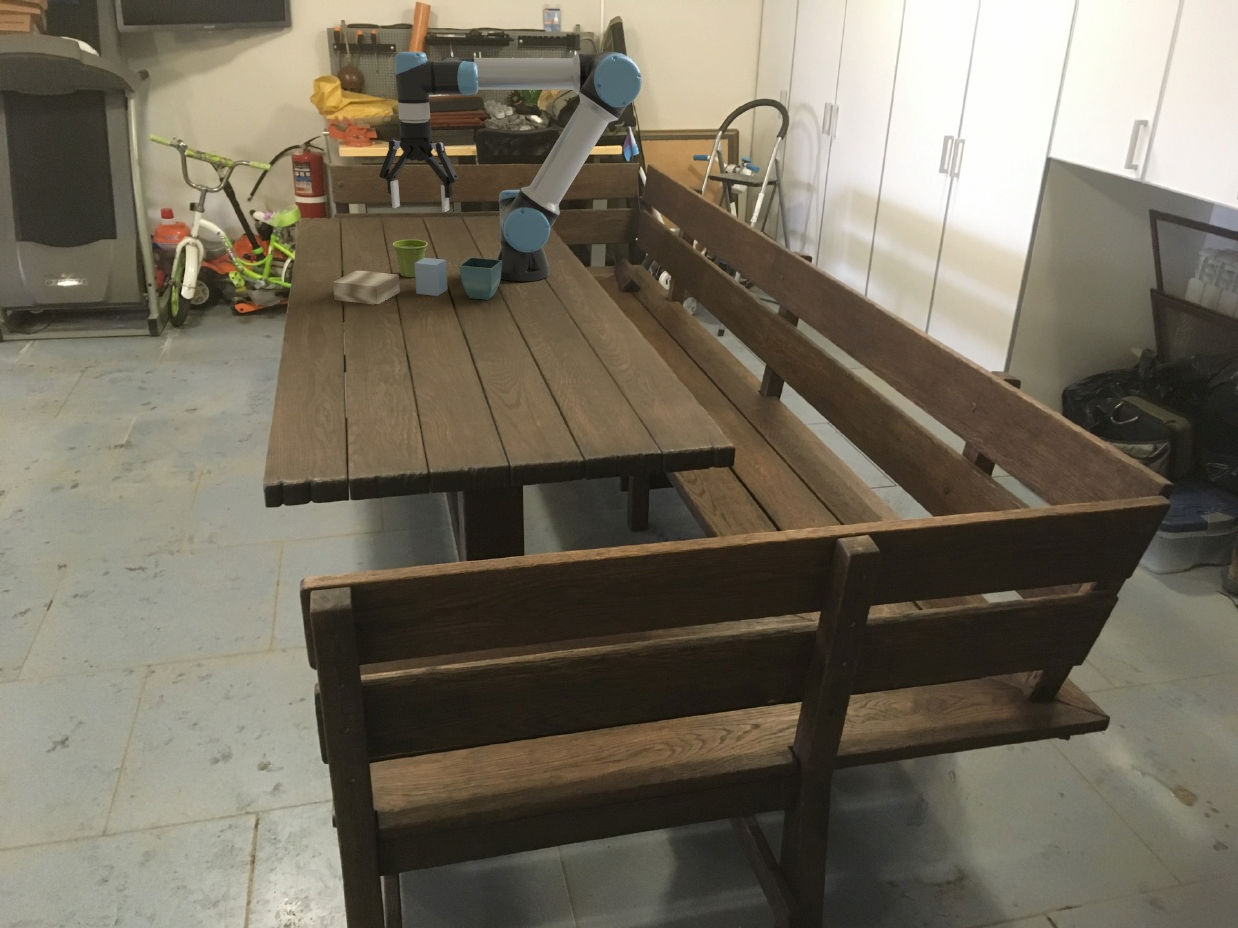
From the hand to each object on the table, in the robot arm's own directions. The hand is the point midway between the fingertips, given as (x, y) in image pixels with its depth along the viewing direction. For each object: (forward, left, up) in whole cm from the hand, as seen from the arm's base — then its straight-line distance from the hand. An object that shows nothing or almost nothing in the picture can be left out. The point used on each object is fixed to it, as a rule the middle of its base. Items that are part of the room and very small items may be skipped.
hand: (420, 209), depth 250 cm
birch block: (+11, +10, -21) cm, 26 cm away
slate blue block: (-2, +1, -21) cm, 21 cm away
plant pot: (+10, -12, -21) cm, 26 cm away
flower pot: (-16, +1, -21) cm, 27 cm away
